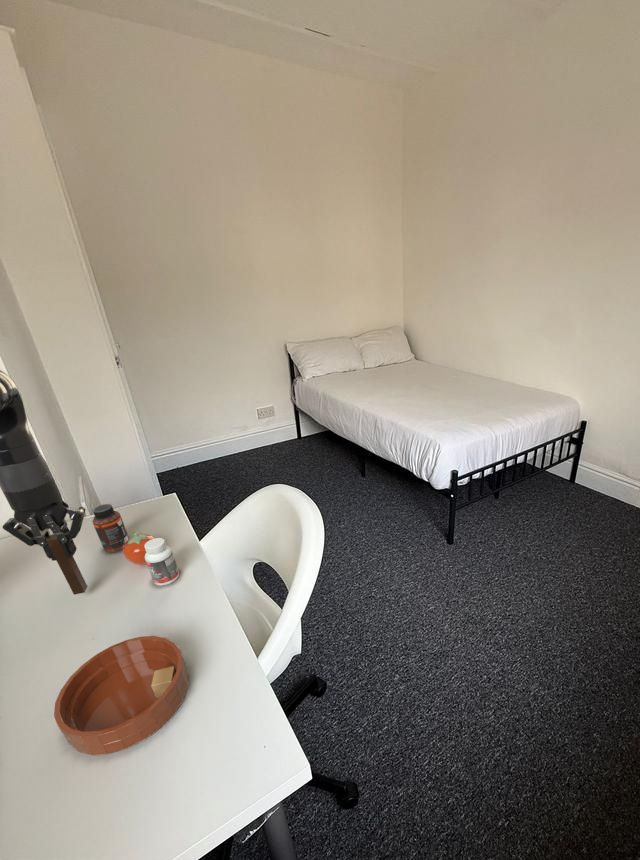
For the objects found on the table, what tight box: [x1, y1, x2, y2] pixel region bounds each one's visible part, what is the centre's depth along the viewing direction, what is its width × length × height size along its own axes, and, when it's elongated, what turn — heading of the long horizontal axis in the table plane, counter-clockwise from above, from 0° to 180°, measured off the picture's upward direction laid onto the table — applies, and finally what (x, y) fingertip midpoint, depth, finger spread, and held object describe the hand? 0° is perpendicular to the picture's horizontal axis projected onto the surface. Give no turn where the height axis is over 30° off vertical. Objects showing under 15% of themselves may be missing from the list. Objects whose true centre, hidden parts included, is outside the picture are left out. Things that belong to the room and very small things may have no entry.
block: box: [151, 666, 176, 698], centre depth 67 cm, size 3×3×3 cm
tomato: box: [121, 532, 156, 566], centre depth 98 cm, size 7×7×8 cm
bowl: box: [53, 635, 190, 756], centre depth 66 cm, size 17×17×5 cm
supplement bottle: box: [91, 503, 130, 553], centre depth 103 cm, size 6×6×11 cm
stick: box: [46, 533, 88, 596], centre depth 84 cm, size 2×2×14 cm
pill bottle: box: [144, 537, 180, 586], centre depth 91 cm, size 5×5×10 cm
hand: (63, 556), depth 84 cm, fingers closed on stick, 2 cm apart
